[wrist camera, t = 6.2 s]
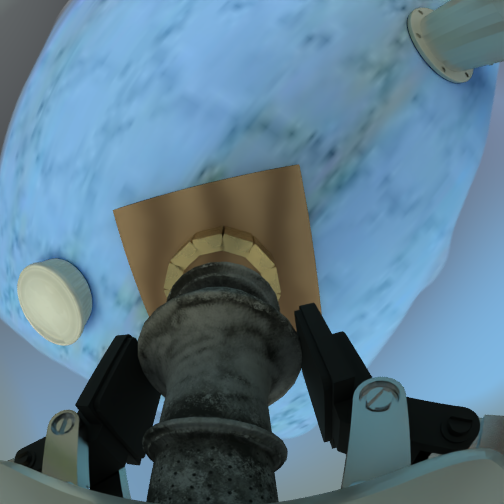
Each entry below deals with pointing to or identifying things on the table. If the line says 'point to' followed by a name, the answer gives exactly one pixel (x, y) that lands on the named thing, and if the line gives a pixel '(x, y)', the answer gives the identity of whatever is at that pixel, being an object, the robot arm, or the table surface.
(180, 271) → the wooden ring
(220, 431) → the stone chess piece
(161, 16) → the table surface
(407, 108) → the table surface
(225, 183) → the wooden board
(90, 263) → the table surface
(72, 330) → the ramekin
